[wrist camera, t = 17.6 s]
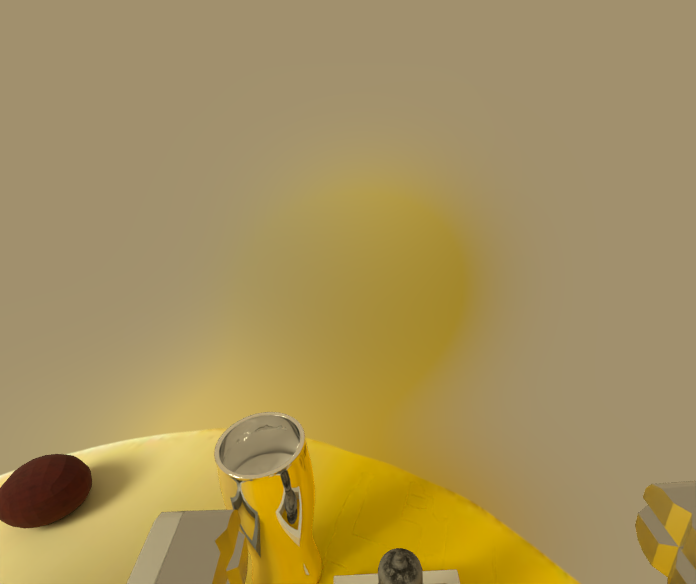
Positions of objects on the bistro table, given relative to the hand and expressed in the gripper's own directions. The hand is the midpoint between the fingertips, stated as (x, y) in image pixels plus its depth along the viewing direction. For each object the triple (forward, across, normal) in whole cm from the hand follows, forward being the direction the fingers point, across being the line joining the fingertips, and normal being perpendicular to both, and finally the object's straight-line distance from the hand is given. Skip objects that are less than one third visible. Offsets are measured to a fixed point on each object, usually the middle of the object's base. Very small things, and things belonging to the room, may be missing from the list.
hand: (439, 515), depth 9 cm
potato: (+26, +35, +30) cm, 53 cm away
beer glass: (+18, +9, +30) cm, 36 cm away
